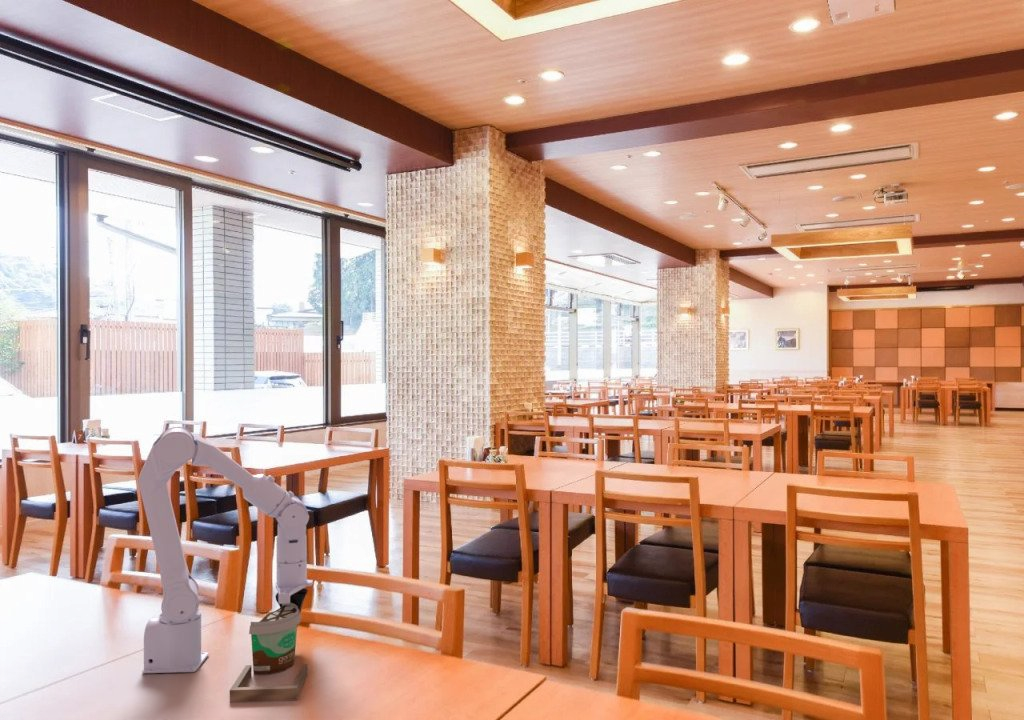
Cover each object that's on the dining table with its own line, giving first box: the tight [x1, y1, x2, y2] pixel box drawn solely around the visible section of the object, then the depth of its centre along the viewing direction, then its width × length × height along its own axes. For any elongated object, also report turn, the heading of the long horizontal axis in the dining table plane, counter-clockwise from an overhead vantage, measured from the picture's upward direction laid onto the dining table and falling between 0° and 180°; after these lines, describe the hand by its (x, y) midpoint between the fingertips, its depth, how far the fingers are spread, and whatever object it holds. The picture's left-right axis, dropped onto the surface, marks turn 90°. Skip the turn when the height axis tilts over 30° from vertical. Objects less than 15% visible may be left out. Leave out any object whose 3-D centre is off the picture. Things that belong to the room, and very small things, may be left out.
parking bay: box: [229, 663, 309, 703], centre depth 132 cm, size 11×10×2 cm
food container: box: [248, 603, 302, 676], centre depth 141 cm, size 12×6×10 cm, turn 168°
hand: (291, 628), depth 150 cm, fingers closed
